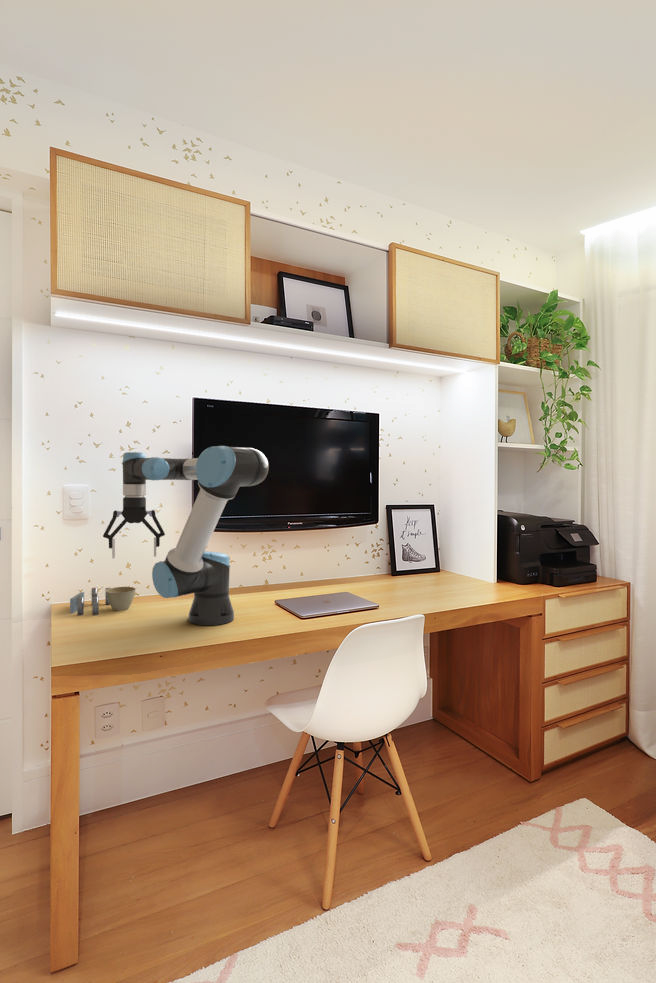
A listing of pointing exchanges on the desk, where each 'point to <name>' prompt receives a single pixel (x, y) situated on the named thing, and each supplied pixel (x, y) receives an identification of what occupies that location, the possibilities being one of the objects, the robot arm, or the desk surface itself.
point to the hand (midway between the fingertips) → (134, 557)
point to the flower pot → (120, 597)
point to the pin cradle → (78, 603)
